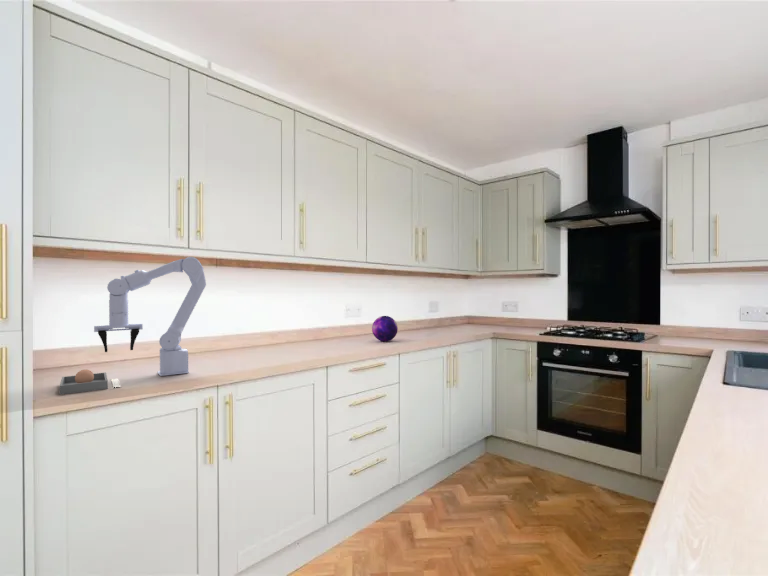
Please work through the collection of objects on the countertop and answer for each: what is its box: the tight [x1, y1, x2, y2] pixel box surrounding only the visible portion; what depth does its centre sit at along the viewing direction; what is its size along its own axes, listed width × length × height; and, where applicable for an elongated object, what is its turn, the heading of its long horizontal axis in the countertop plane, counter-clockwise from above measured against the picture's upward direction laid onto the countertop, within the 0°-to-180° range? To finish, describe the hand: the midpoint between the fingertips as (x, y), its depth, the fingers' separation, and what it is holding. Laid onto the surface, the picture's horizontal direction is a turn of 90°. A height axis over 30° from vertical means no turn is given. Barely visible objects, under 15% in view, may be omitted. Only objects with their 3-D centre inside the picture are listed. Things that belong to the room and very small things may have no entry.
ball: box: [74, 369, 95, 383], centre depth 134 cm, size 5×5×5 cm
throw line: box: [110, 378, 122, 389], centre depth 139 cm, size 2×16×1 cm, turn 35°
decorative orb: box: [371, 315, 399, 343], centre depth 244 cm, size 15×15×15 cm
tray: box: [58, 372, 109, 395], centre depth 134 cm, size 12×16×3 cm
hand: (119, 350), depth 149 cm, fingers open, 7 cm apart
